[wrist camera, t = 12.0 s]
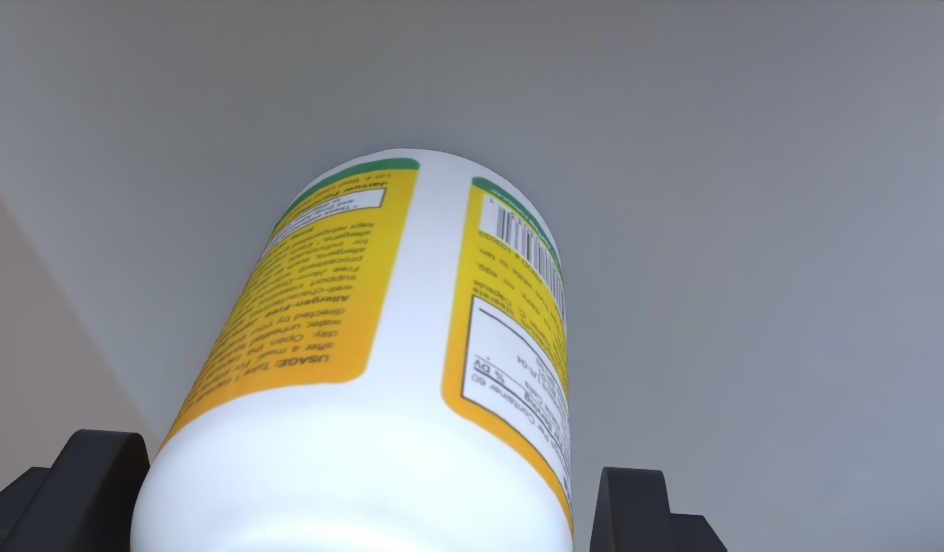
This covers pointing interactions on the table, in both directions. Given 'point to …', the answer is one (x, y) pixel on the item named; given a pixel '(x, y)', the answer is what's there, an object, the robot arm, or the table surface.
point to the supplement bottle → (380, 379)
